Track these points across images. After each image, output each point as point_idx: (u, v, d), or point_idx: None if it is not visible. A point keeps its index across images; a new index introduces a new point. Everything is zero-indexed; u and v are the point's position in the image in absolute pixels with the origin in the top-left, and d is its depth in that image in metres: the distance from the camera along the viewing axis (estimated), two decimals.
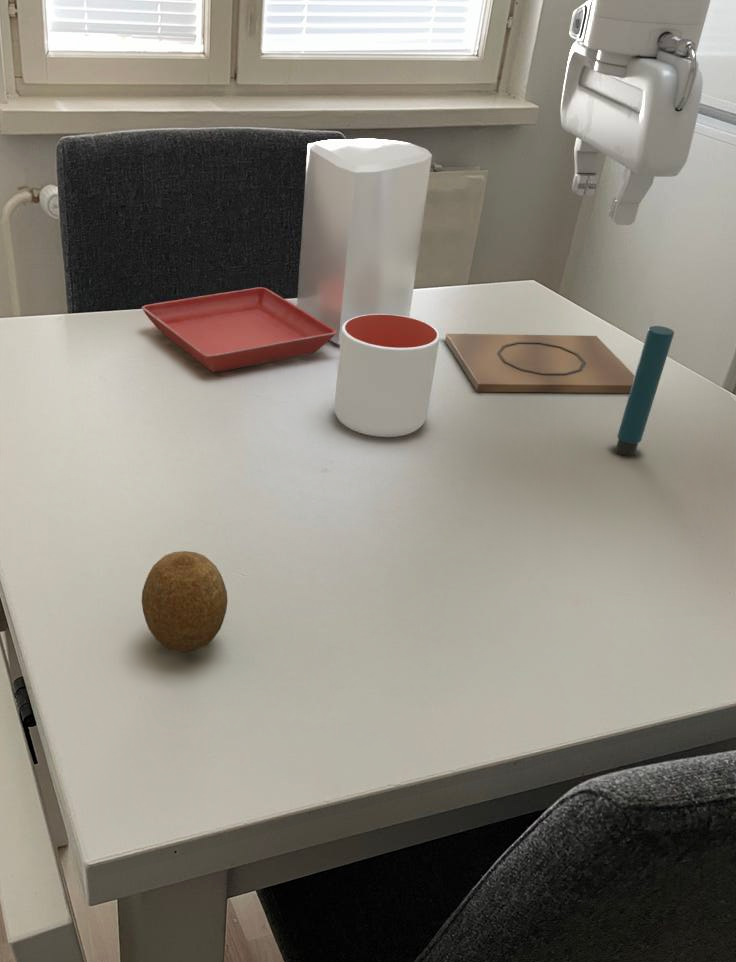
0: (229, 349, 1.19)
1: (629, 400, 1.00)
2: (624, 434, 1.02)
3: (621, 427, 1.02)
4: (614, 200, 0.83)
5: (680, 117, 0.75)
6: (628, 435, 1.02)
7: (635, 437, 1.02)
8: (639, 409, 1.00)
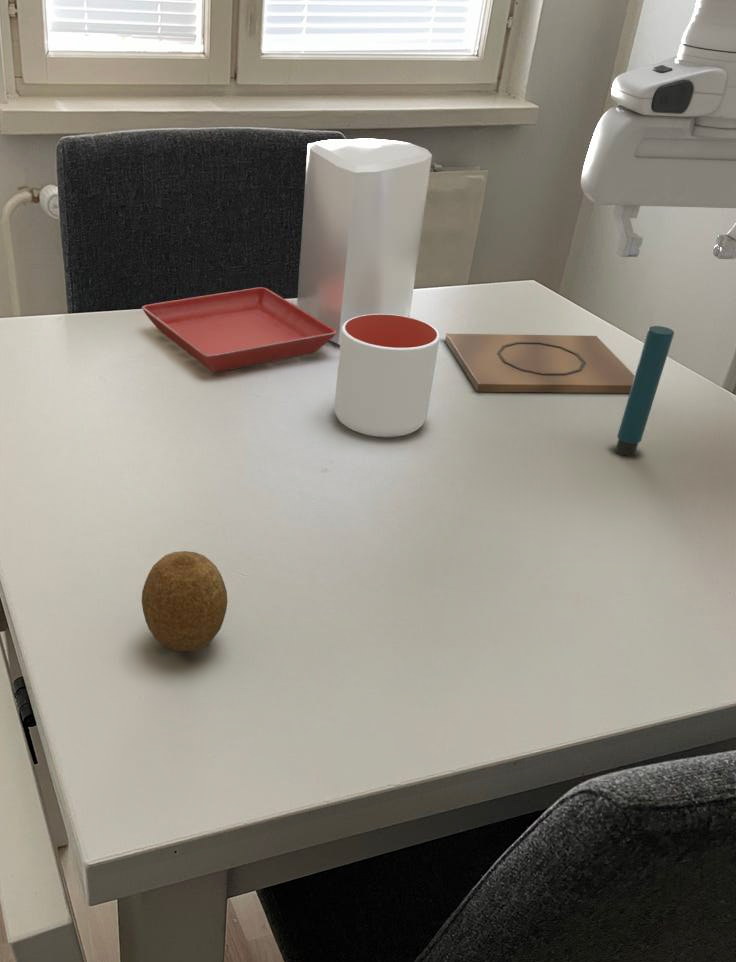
0: (229, 349, 1.19)
1: (629, 400, 1.00)
2: (624, 434, 1.02)
3: (621, 427, 1.02)
4: (731, 241, 0.90)
5: None
6: (628, 435, 1.02)
7: (635, 437, 1.02)
8: (639, 409, 1.00)
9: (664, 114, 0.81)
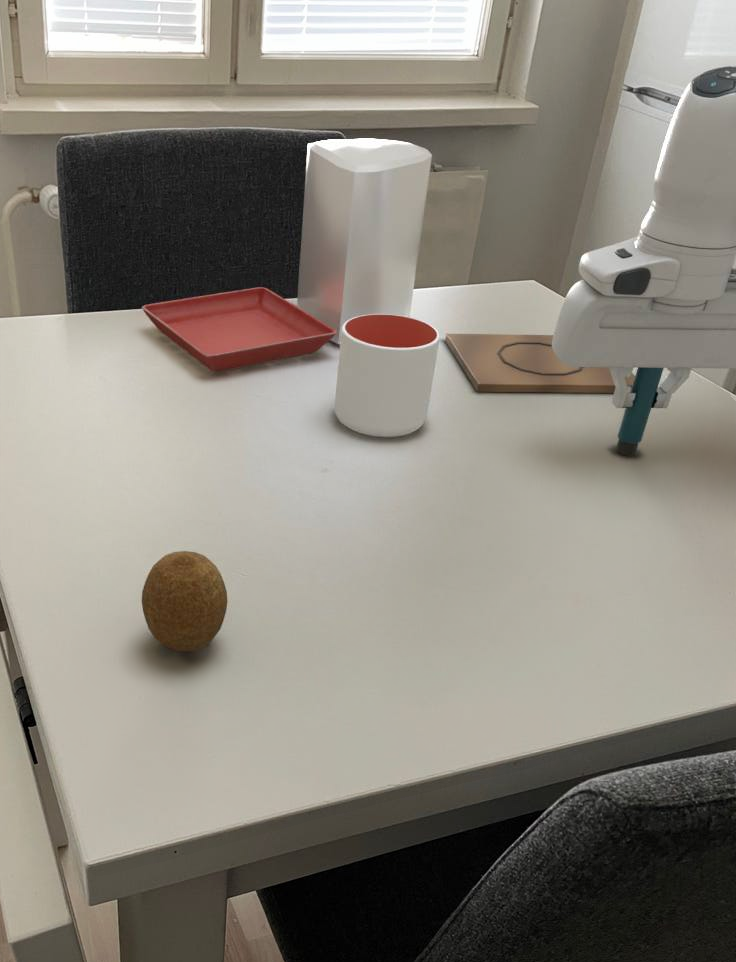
0: (229, 349, 1.19)
1: None
2: (624, 434, 1.02)
3: (621, 427, 1.02)
4: (662, 394, 0.99)
5: None
6: (628, 435, 1.02)
7: (635, 437, 1.02)
8: (639, 409, 1.00)
9: (625, 295, 0.90)
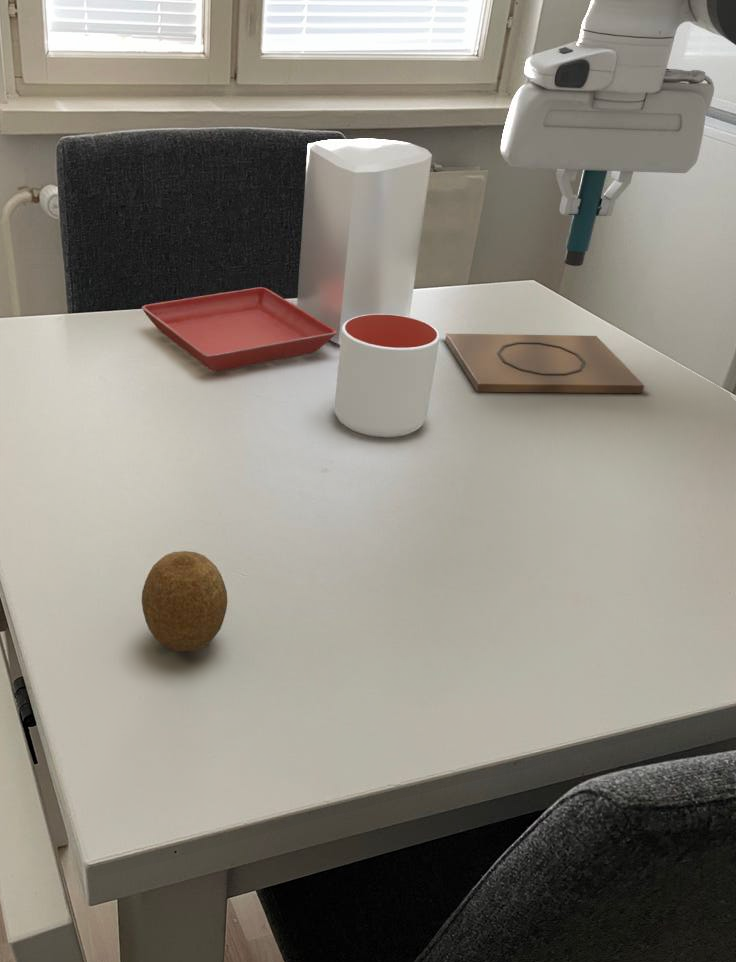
0: (229, 349, 1.19)
1: None
2: (571, 243, 1.07)
3: (569, 237, 1.07)
4: (606, 200, 1.04)
5: None
6: (575, 243, 1.07)
7: (582, 245, 1.07)
8: (584, 215, 1.05)
9: (566, 88, 0.95)
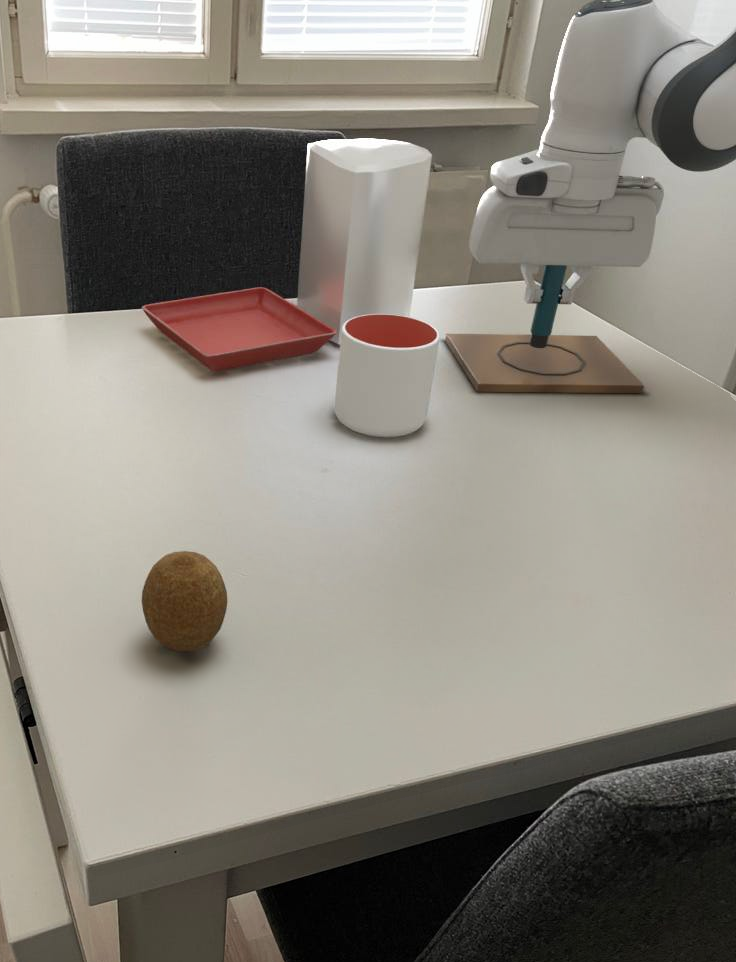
0: (229, 349, 1.19)
1: None
2: (535, 328, 1.16)
3: (533, 322, 1.16)
4: (566, 290, 1.13)
5: None
6: (539, 328, 1.16)
7: (545, 330, 1.16)
8: (547, 304, 1.14)
9: (526, 196, 1.05)
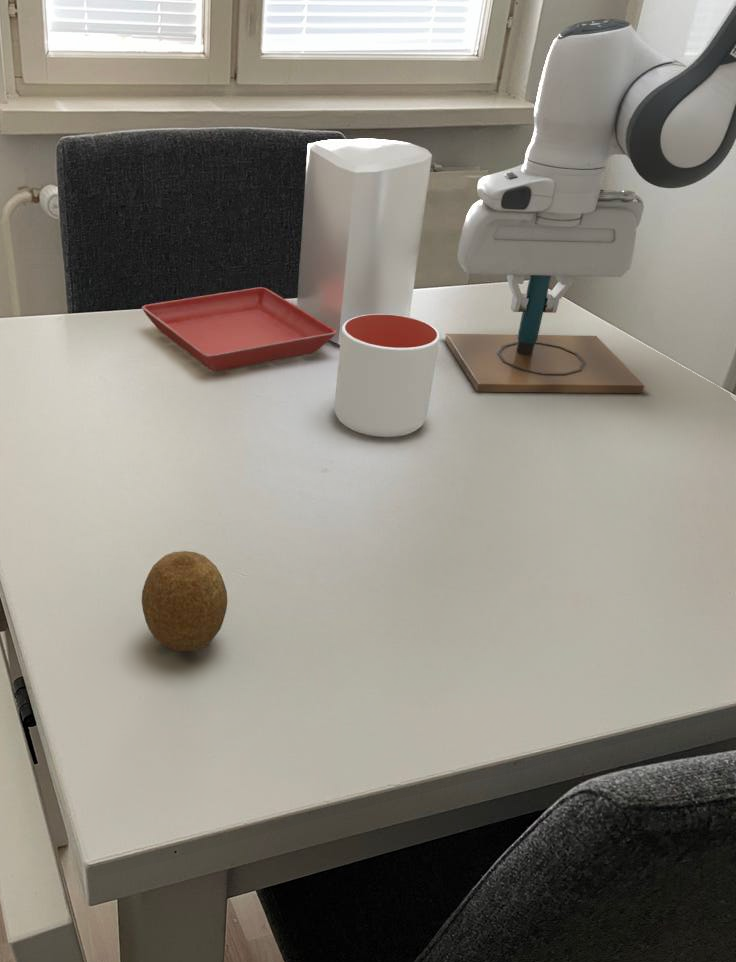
0: (229, 349, 1.19)
1: None
2: (522, 335, 1.21)
3: (519, 329, 1.21)
4: (551, 299, 1.18)
5: None
6: (525, 336, 1.20)
7: (531, 337, 1.20)
8: (532, 312, 1.19)
9: (511, 210, 1.09)
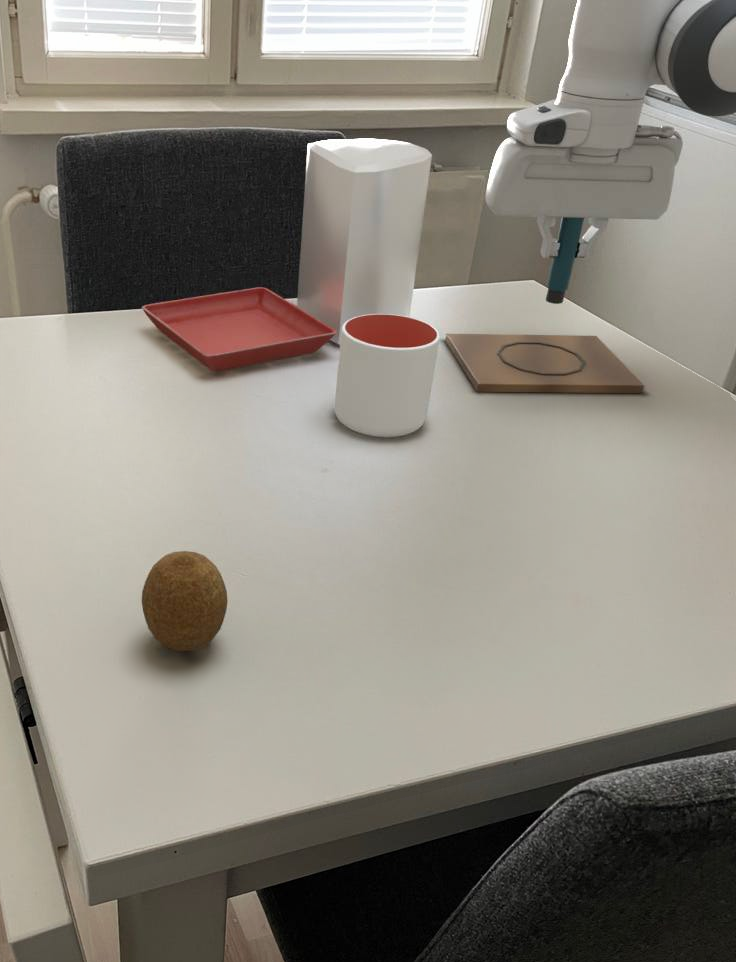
0: (229, 349, 1.19)
1: None
2: (552, 283, 1.15)
3: (549, 277, 1.15)
4: (584, 244, 1.12)
5: None
6: (555, 283, 1.15)
7: (562, 285, 1.15)
8: (563, 258, 1.13)
9: (544, 145, 1.03)
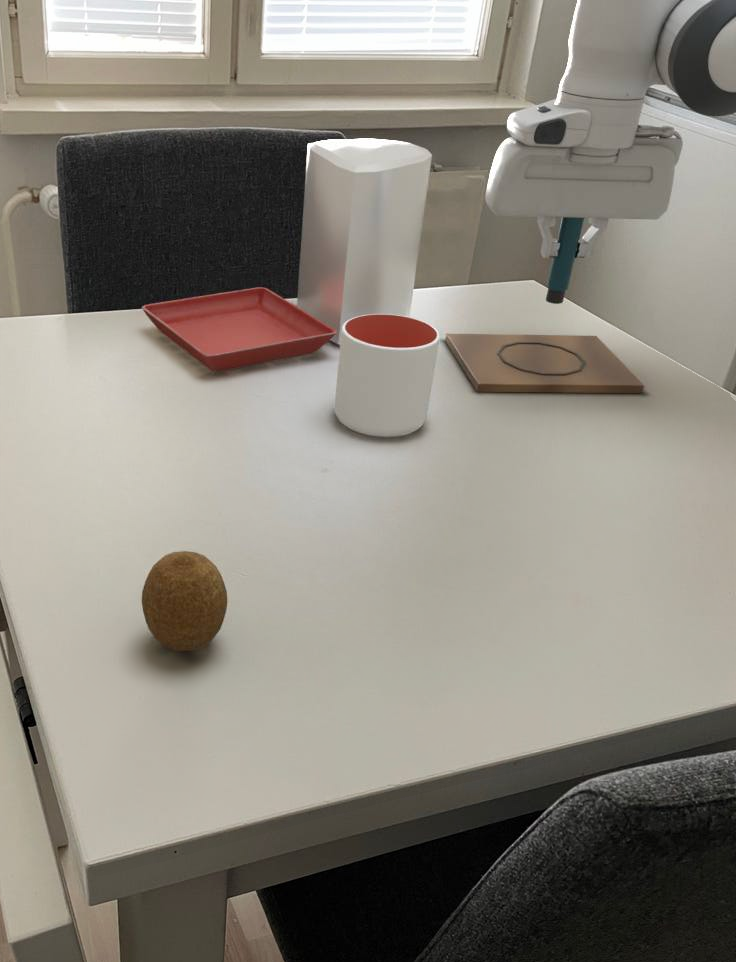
0: (229, 349, 1.19)
1: None
2: (552, 283, 1.15)
3: (549, 277, 1.15)
4: (584, 244, 1.12)
5: None
6: (555, 283, 1.15)
7: (562, 285, 1.15)
8: (564, 257, 1.13)
9: (544, 145, 1.03)
